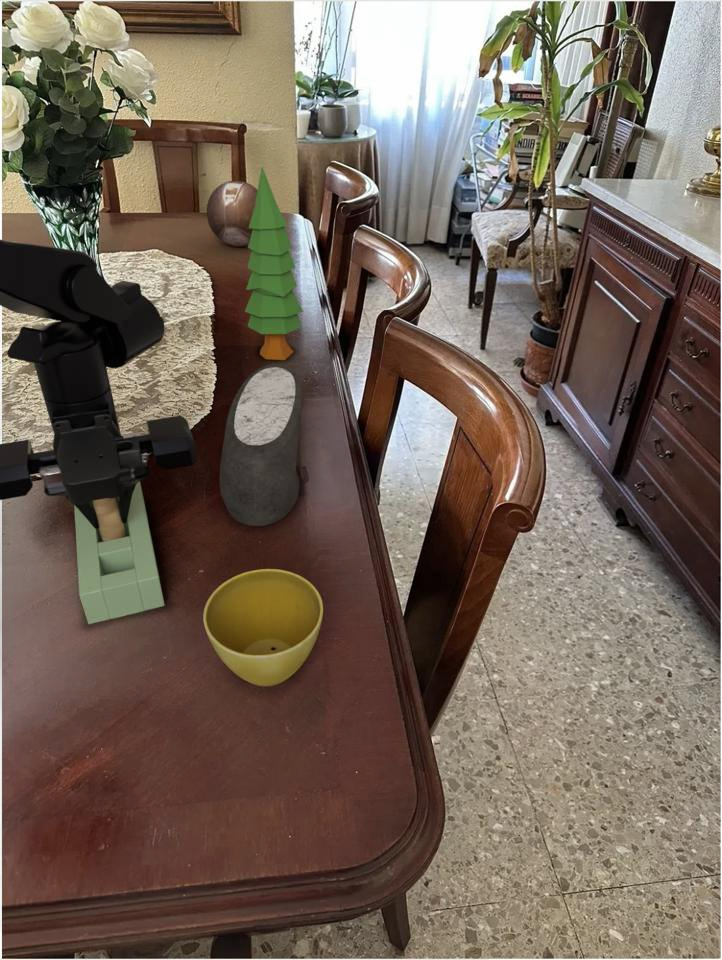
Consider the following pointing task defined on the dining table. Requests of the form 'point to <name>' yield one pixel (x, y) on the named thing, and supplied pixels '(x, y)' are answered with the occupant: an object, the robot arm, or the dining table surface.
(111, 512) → the peg
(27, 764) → the dining table surface
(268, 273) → the decorative tree
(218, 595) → the flower pot
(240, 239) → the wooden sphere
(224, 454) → the grey stone cylinder
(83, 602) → the peg board
